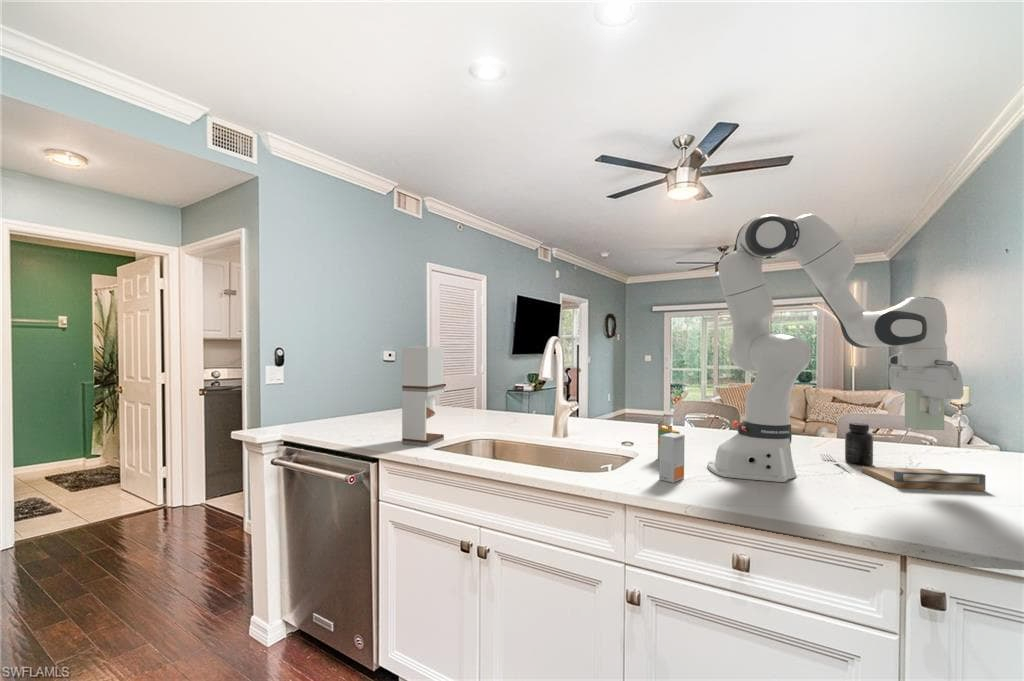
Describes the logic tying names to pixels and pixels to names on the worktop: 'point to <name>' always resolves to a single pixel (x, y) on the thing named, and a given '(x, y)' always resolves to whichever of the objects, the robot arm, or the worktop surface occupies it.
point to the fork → (837, 464)
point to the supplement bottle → (859, 445)
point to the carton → (921, 412)
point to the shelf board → (927, 478)
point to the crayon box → (664, 432)
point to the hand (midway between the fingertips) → (923, 412)
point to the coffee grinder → (420, 392)
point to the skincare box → (671, 457)
